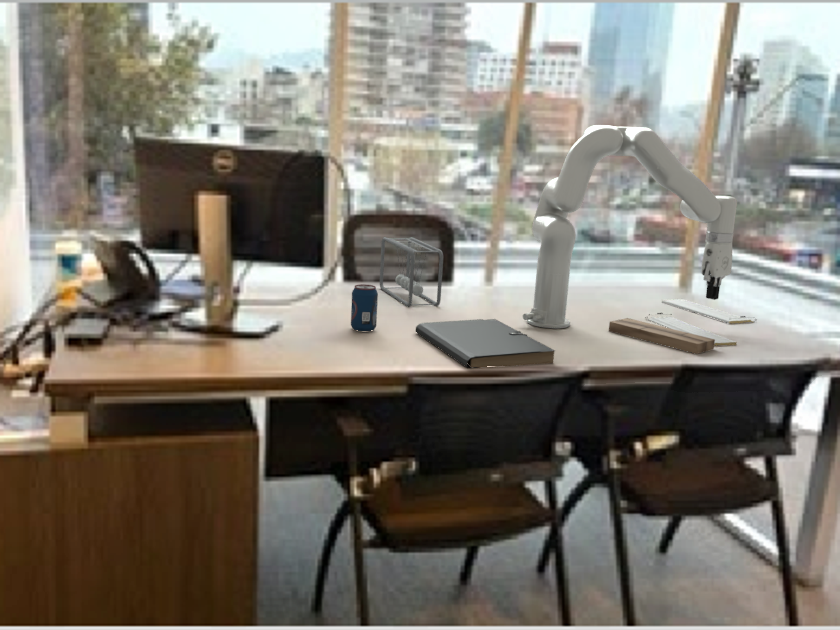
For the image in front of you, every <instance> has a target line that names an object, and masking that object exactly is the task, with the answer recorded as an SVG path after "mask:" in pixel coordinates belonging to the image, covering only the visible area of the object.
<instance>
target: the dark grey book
mask: <svg viewBox="0 0 840 630" xmlns="http://www.w3.org/2000/svg"><path fill="white" fill-rule="evenodd" d="M416 332H417V333H418V334H417V333H416ZM415 333H416V334H417V335H419V334H420V335H421V336H423V337H424V338H426V339H427V340H428V341H427V340H426V339H425V340H426V341H427V342H429V341H430V342H431V343H430V342H429V343H430V344H432V343H433V344H434V346H435V345H436V346H437V347H436V346H435V347H436V348H438V347H439V348H440V349H442V350H443V351H444V352H443V351H442V350H441V351H442V352H443V353H445V352H446V353H447V354H446V353H445V354H446V355H448V354H449V355H450V356H449V355H448V356H449V357H451V356H452V357H453V358H455V359H456V360H458V361H459V362H460V363H459V362H458V361H457V362H458V363H459V364H461V363H462V364H463V365H462V364H461V365H462V366H464V365H465V366H466V367H465V366H464V367H465V368H467V367H468V366H469V365H470V366H469V367H487V366H505V367H516V365H518V366H517V367H519V366H529V365H530V366H531V365H544V364H545V365H546V364H554V360H555V352H556V350H555V349H553V348H551V347H549V346H547V345H545V344H543V343H542V342H540V341H538V340H536V339H534V338H532V337H530V336H529V335H528V334H525V333H523V332H522V331H519V330H517V329H515V328H513V327H511V326H510V325H508V324H506V323H504V322H501V321H500V320H498V319H496V318H490V319H482V318H479V319H464V320H447V321H444V320H443V321H430V322H421V323H418V325H416V326H415ZM420 335H419V336H420ZM421 336H420V337H421ZM423 337H422V338H423ZM424 338H423V339H424ZM433 344H432V345H433ZM439 348H438V349H439ZM440 349H439V350H440ZM452 357H451V358H452ZM453 358H452V359H453ZM455 359H454V360H455ZM456 360H455V361H456ZM467 363H468V364H469V365H468V364H467Z"/></svg>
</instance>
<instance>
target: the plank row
mask: <svg viewBox="0 0 840 630" xmlns="http://www.w3.org/2000/svg"><path fill="white" fill-rule="evenodd" d="M608 332H609V333H614V334H619V335H622V336H625V335H626V337H629V336H630V338H633V337H634V339H637V338H638V339H637V340H641V339H642V340H641V341H644V340H646V341H645V342H648V341H651V342H650V343H652V342H654V343H653V344H656V343H658V344H657V345H660V344H662V345H661V346H663V345H666V346H665V347H667V346H670V347H669V348H671V347H674V348H673V349H675V348H677V349H676V350H679V349H681V350H680V351H682V350H684V352H686V351H688V352H687V353H690V352H692V353H691V354H694V353H695V354H694V355H699V354H702V352H703V353H706V352H709V351H713V350H714V349H715V348H714V347H715V346H714V343H715V339H711V338H707V337H703V336H699V335H695V334H691V333H686V332H682V331H678V330H674V329H670V328H666V327H663V326H661V325H659V324H655V323H649V322H645V321H641V320H637V319H633V318H628V317H626V318H622V319H621V318H620V319H617V320H611V321H609V325H608Z"/></svg>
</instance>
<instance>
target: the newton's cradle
mask: <svg viewBox="0 0 840 630" xmlns="http://www.w3.org/2000/svg"><path fill="white" fill-rule="evenodd" d="M398 240H405V241H407V244H405V243H403V242H401V241H398ZM386 242H387V243H389V244H391V245H393V246H395V247H396V251H397V252H396V253H397V254H399V251H398V248H399V249H400V250H403V251H404V252H406V253H407V254H406V253H404V255H405V256H404V258H405V261H403V258H401V262H402V263H401V264H403V266H402V273H399V274H398V275H397V276H396V277H395V283H396V285H398V286H399V287H393V286H392V287H386V286H384V268H385V266H384V265H385V251H386V250H385V249H386V247H385V245H386ZM380 243H381V245H380V248H381V249H380V266H379V267H380V268H379V287H380V290H382V291H383V290H384V291H383V292H385V293H386V292H387V293H386V294H387V295H389V294H390V295H389V296H391V297H392V296H393V297H392V298H394V299H395V298H396V300H397V301H398V300H399V301H398V302H400V303H401V302H402V303H401V304H403V305H404V304H405V305H404V306H405V307H407V306H408V308H410V307H411V306H435V307H438V306H440V304H441V298H442V297H441V296H442V285H443V284H442V283H443V269H444V266H443V264H444V253H443V251H442V250H441V249H439V248H438V247H435V246H434V245H430V244H428V243H425V242H423V241H421V240H419V239H417V238H415V237H411V236H410V237H408V238H407V237H405V238H403V237H402V238H401V237H399V238H396V237H395V238H394V237H393V238H392V237H391V238H389V237H385V236H384V237H382V239H381V242H380ZM412 244H413V245H412ZM415 245H416V246H417V247H416V249H415ZM419 247H421V250H419ZM424 249H425V250H424ZM402 253H403V252H402V251H400V254H401V256H403V254H402ZM415 253H416V254H415ZM418 253H420V256H419V258H421V257H422V253H425V254H424V260H423V263H422V267H421V272H420V275H419V278H421V276H422V273H423V269H424V265H425V259H426V256H427V253H438V254H439V260H438V261H439V264H438V277H437V292H436V293H437V294H436V301H435V300H433V299H432V298H430V297H428V296H427V295H425V294H423V292H424V286H423V285H422V284H420V281H421V279H418V281H417V273H418V269H419V265H420V263H421V262H420V261H421V259H419V261H418V264H417V268H416V267H415V265H416V264H415V262H416V258H417V255H418ZM397 259H398V260H397V261H398V262H400V258H399V256H397ZM405 265H406V270H405ZM398 267H399V268H398V270H399V271H401V268H400V265H398ZM415 270H416V271H415ZM405 271H406V272H405ZM404 272H405V274H404ZM414 276H415V277H414ZM389 289H405V290H406V291H408V301H406V300H404V299H403V298H401V297H400V296H398V295H397V294H395V293H394V292H392V291H391V290H389ZM413 295H414V296H417V297H418V296H419V297H420V296H421V297H420V298H422V299H423V298H424V300H425V299H426V300H425V301H427V302H428V301H429V302H428V303H413Z"/></svg>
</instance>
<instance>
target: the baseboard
mask: <svg viewBox="0 0 840 630" xmlns="http://www.w3.org/2000/svg"><path fill="white" fill-rule="evenodd" d="M656 315H665V316H664V317H663V316H656V317H655V316H651V314H650V313H649V314H648V316H651V317H650V318H648V316H646V317H644V320H646V321H649V322H651V321H652V323H653V324H656V323H657V324H656V325H659V324H660V325H659V326H661V325H662V327H663V326H665V327H667V328H670V329H674V330H678V331H682V332H686V333H691V334H695V335H699V336H703V337H707V338H711V339H715V343H714V347H718V346H717V345H727V346H737V341H735V340H732V339H729V338H727V337H725V336H722V335H719V334H717V333H714V332H712V331H709V330H706V329H705V328H701V327H698V326H696V325H694V324H691V323H690V322H685V321H683V320H681V319H679V318H676V317H673V316H672V313H670V314H668V313H667V314H664V312H657V314H656ZM666 315H667V316H666ZM668 315H670V316H668ZM715 345H716V346H715Z"/></svg>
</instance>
